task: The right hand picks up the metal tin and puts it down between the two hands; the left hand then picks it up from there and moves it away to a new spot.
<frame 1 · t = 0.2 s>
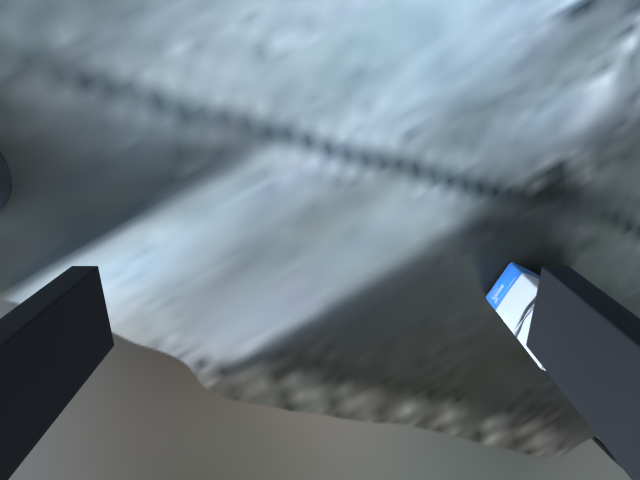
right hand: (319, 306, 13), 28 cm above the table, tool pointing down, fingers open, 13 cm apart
ink box: (529, 294, 44), on the table
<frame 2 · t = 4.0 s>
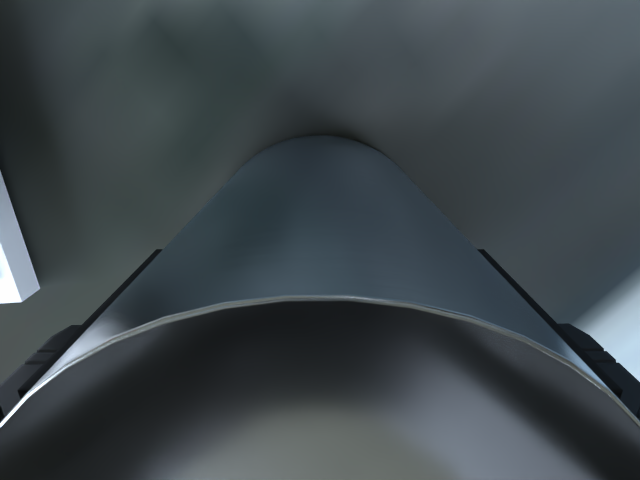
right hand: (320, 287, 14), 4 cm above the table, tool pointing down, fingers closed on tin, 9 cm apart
tin: (320, 244, 17), on the table, touching right hand
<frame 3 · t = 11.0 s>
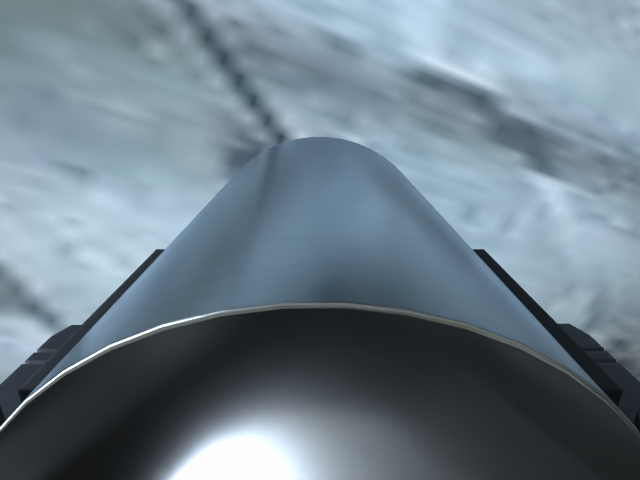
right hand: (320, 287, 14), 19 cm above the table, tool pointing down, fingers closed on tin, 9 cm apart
tin: (319, 246, 17), point 16 cm above the table, touching right hand
when the right hand's fingers open (6 cm above the table, at t = 17.9 s): tin drops 2 cm, on the table.
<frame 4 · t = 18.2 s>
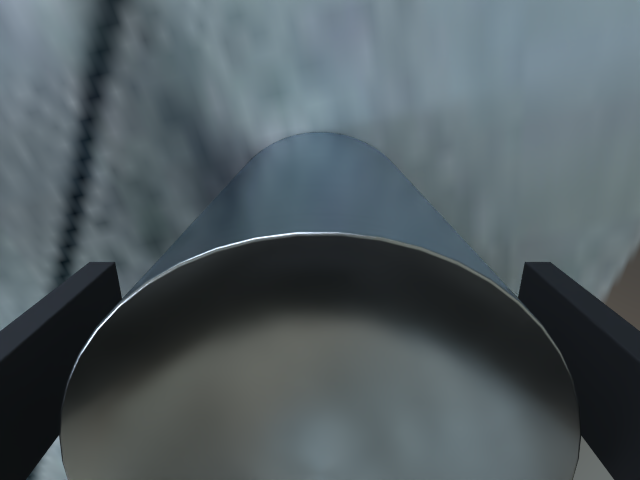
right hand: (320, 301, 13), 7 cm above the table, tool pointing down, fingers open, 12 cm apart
tin: (320, 231, 19), on the table
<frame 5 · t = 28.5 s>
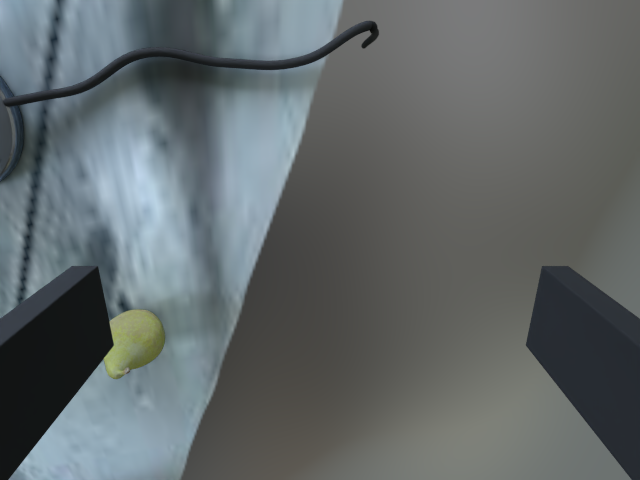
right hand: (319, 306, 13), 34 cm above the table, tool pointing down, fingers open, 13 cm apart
fruit: (147, 321, 52), on the table
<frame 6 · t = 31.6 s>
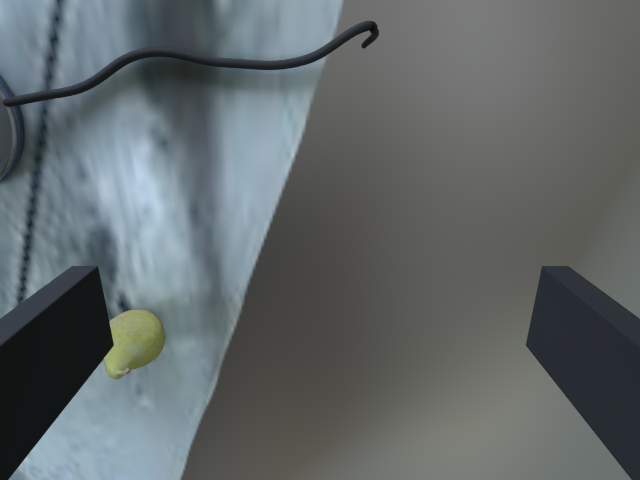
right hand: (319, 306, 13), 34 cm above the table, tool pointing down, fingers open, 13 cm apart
fruit: (147, 321, 52), on the table
when the left hand's fingers open (6 cm above the table, at t = 34.8 s): tin drops 2 cm, on the table.
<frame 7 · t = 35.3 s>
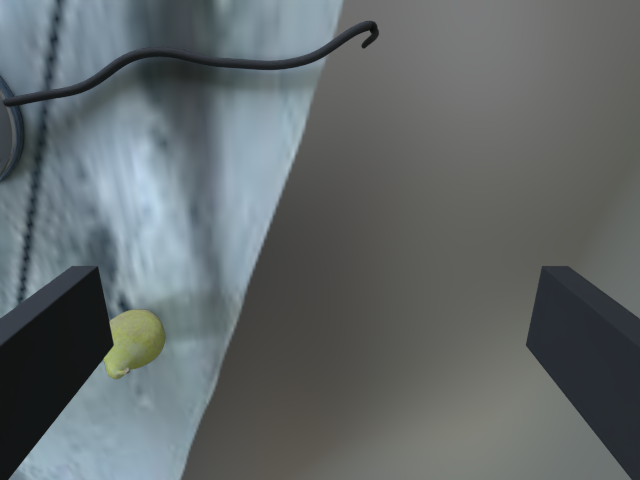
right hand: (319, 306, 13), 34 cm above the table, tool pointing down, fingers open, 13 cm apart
fruit: (147, 321, 52), on the table
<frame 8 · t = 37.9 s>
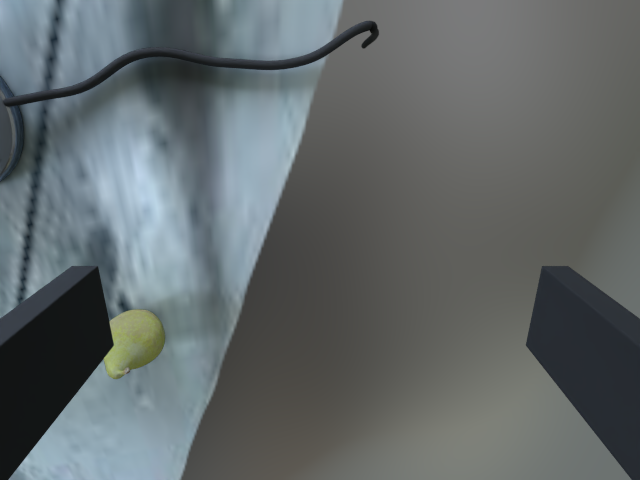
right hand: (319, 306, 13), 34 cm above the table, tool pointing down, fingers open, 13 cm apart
fruit: (147, 321, 52), on the table
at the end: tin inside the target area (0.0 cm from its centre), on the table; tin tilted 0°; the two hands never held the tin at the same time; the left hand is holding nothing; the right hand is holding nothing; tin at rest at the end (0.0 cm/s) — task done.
